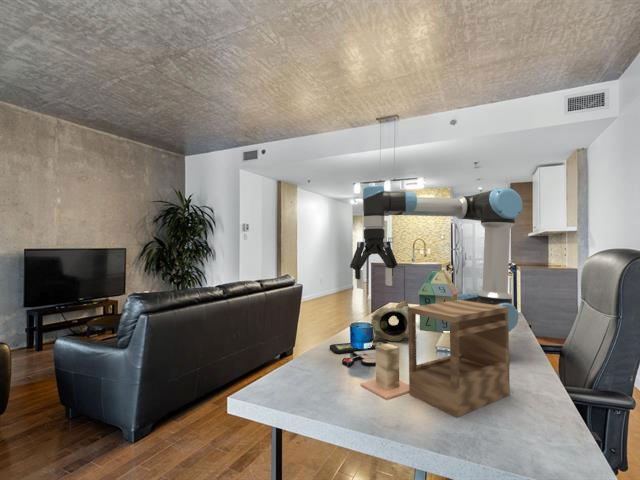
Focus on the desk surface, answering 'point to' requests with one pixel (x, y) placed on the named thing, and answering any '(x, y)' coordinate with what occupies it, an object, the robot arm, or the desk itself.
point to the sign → (357, 353)
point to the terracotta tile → (386, 393)
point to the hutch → (463, 357)
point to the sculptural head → (385, 328)
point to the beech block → (387, 366)
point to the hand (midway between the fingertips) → (374, 287)
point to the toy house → (436, 299)
